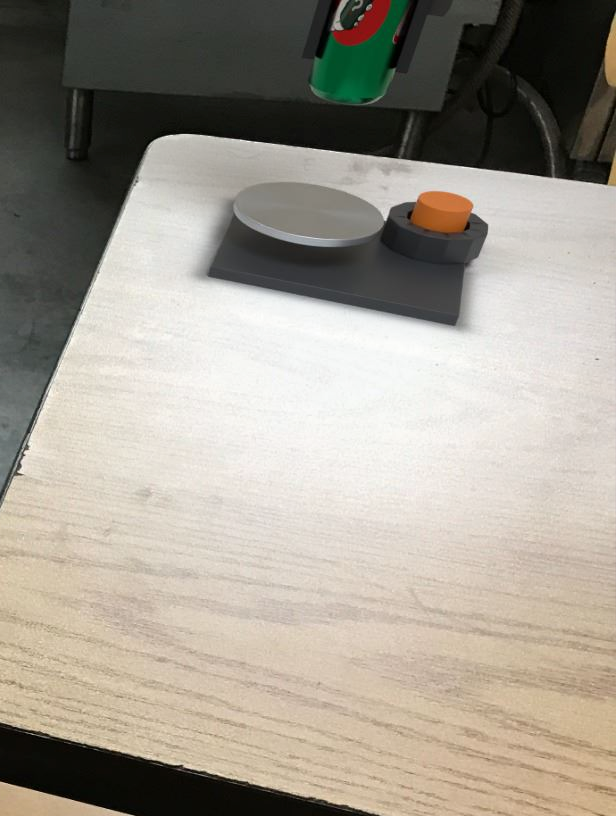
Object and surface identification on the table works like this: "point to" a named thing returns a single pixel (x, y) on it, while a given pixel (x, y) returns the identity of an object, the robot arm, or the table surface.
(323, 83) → the soda can
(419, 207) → the tare button
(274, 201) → the weighing pan
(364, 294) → the scale
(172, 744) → the table surface
